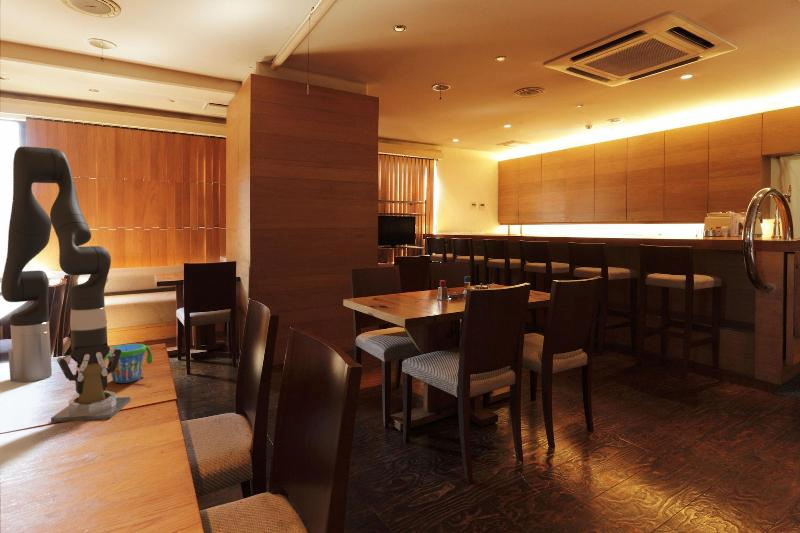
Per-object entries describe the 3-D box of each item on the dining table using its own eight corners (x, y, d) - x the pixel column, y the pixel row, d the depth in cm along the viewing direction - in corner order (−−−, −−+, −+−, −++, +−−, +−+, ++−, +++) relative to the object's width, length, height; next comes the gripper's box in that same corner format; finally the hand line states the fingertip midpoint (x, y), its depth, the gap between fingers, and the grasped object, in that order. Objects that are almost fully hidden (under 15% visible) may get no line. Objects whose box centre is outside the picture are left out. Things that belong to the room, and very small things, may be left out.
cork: (104, 406, 115) (103, 363, 114) (75, 410, 112) (74, 366, 112) (107, 399, 120) (105, 358, 120) (79, 402, 118) (77, 360, 117)
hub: (51, 422, 110) (50, 408, 109) (77, 403, 122) (76, 390, 121) (110, 418, 112) (109, 405, 112) (130, 400, 124) (130, 388, 123)
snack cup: (143, 370, 150) (142, 340, 149) (161, 376, 144) (160, 344, 143) (91, 383, 137) (89, 350, 136) (108, 390, 131) (107, 355, 130)
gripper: (115, 319, 123) (118, 382, 124) (50, 328, 112) (54, 396, 113) (125, 323, 118) (128, 388, 119) (58, 332, 107) (62, 404, 109)
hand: (92, 392), depth 116 cm, fingers closed on cork, 4 cm apart
